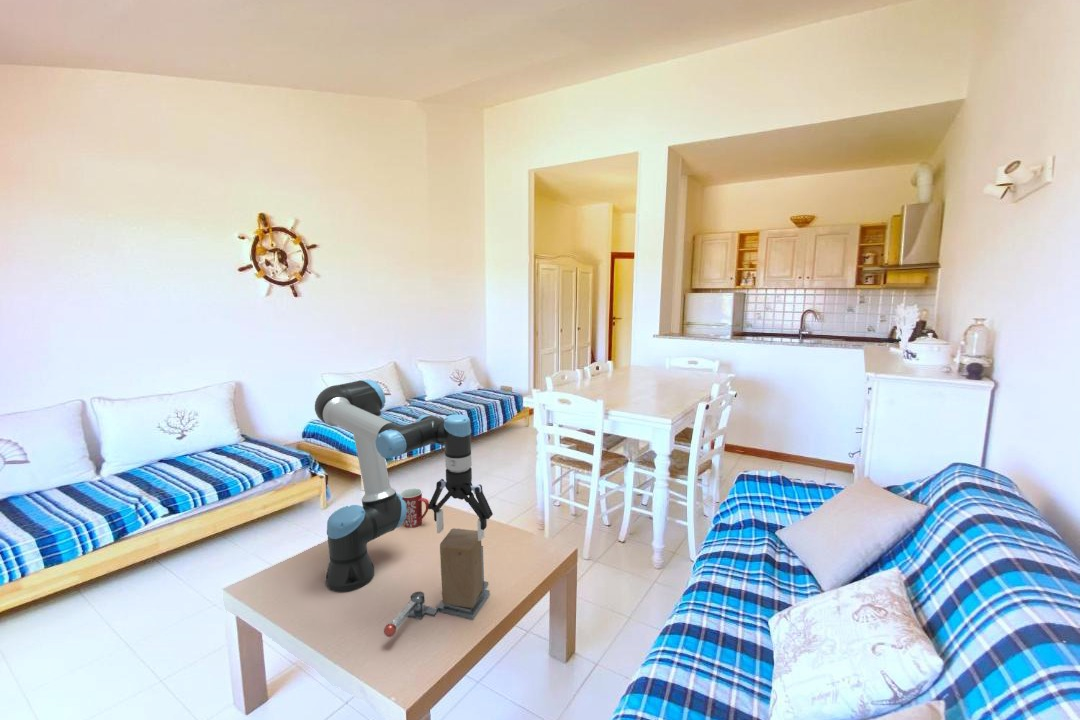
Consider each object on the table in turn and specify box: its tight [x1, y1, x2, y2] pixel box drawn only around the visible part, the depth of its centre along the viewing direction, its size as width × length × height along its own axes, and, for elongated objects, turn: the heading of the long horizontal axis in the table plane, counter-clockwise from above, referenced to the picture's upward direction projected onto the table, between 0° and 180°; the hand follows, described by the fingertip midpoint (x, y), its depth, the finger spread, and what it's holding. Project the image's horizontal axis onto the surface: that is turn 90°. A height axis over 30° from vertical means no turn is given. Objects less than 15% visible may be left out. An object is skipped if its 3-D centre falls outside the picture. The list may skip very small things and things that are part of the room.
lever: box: [383, 591, 425, 638], centre depth 136 cm, size 4×17×3 cm, turn 162°
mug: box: [398, 487, 430, 529], centre depth 194 cm, size 13×9×14 cm
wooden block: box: [439, 527, 483, 608], centre depth 145 cm, size 10×10×20 cm
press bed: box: [407, 545, 491, 621], centre depth 147 cm, size 20×21×14 cm
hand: (460, 534), depth 143 cm, fingers open, 13 cm apart
